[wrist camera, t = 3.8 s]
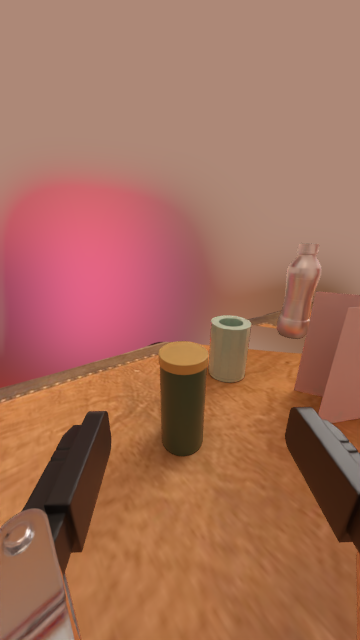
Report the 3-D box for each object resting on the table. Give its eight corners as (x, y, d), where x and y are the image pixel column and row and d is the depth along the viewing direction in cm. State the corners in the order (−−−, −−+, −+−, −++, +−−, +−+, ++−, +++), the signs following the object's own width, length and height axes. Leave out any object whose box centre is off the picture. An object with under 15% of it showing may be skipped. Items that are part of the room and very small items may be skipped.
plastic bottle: (268, 333, 53) (283, 243, 46) (288, 328, 56) (305, 243, 49) (293, 344, 48) (313, 244, 41) (313, 338, 51) (335, 244, 44)
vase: (211, 383, 35) (215, 329, 32) (206, 362, 41) (208, 315, 38) (249, 382, 36) (257, 329, 32) (239, 362, 41) (244, 315, 38)
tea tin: (160, 457, 23) (157, 365, 20) (161, 421, 28) (159, 341, 24) (206, 456, 24) (212, 365, 20) (200, 421, 28) (204, 340, 24)
